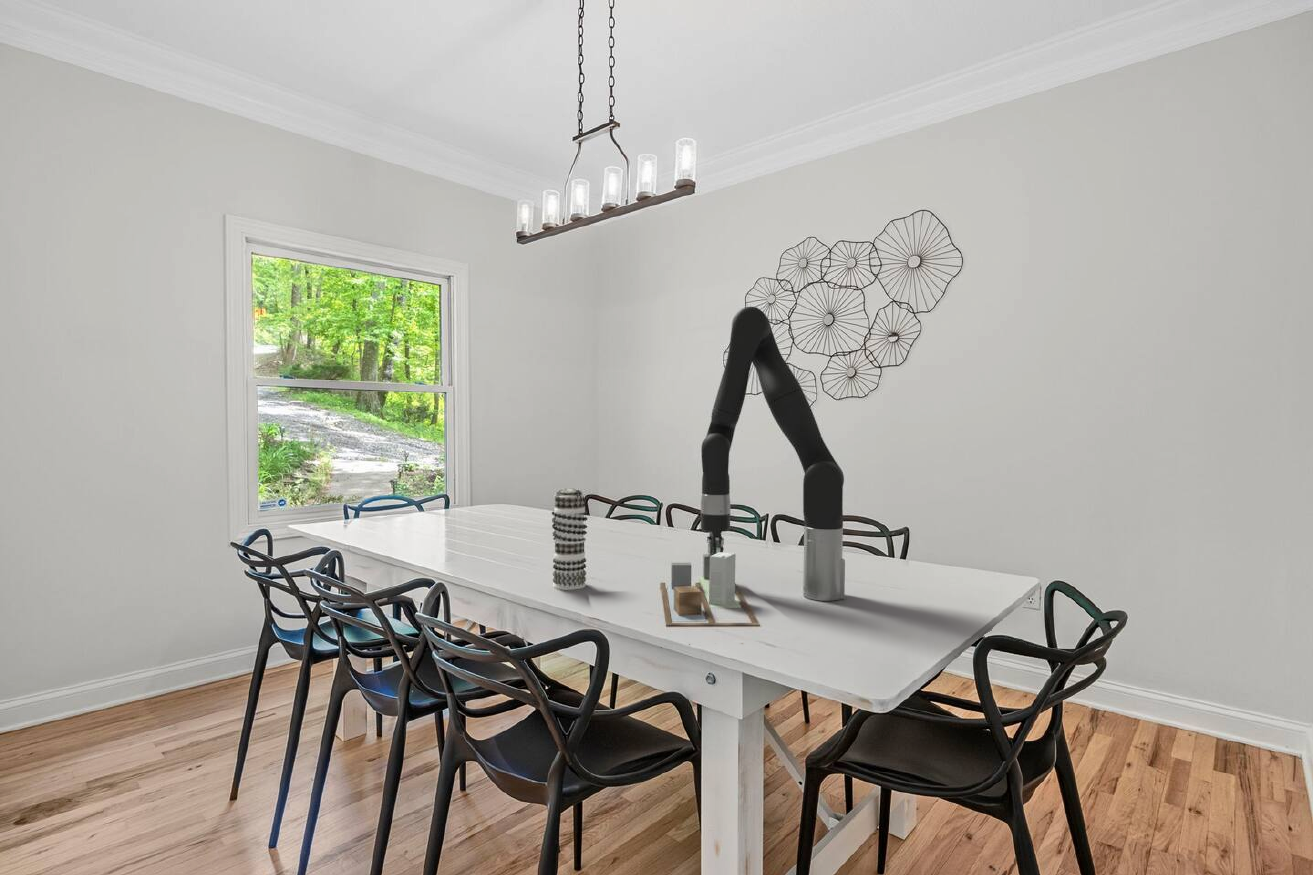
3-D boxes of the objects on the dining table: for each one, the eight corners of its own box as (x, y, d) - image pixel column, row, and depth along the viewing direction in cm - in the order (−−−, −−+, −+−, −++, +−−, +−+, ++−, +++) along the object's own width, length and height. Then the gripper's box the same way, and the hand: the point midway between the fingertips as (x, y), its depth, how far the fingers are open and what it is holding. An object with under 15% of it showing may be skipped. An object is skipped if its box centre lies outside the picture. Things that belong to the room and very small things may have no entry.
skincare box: (718, 602, 161) (718, 551, 160) (736, 604, 159) (736, 552, 158) (707, 608, 155) (708, 555, 155) (726, 610, 153) (726, 557, 153)
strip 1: (694, 589, 172) (694, 562, 172) (706, 626, 142) (706, 592, 142) (667, 589, 172) (667, 562, 172) (673, 626, 142) (673, 592, 142)
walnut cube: (695, 608, 152) (695, 585, 152) (701, 614, 147) (701, 591, 147) (673, 609, 151) (673, 586, 151) (678, 615, 146) (679, 592, 146)
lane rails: (735, 588, 174) (735, 582, 174) (759, 631, 139) (759, 624, 139) (660, 588, 174) (660, 582, 174) (666, 632, 139) (666, 624, 139)
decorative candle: (585, 590, 171) (585, 491, 171) (548, 589, 172) (548, 491, 171) (589, 581, 181) (589, 487, 180) (554, 581, 181) (554, 487, 180)
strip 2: (724, 579, 182) (724, 553, 182) (741, 611, 153) (741, 581, 152) (699, 579, 182) (699, 553, 182) (711, 612, 152) (711, 581, 152)
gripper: (734, 515, 167) (733, 585, 167) (726, 508, 180) (725, 572, 181) (703, 515, 166) (703, 585, 167) (698, 507, 180) (697, 573, 180)
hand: (714, 578), depth 174 cm, fingers closed
